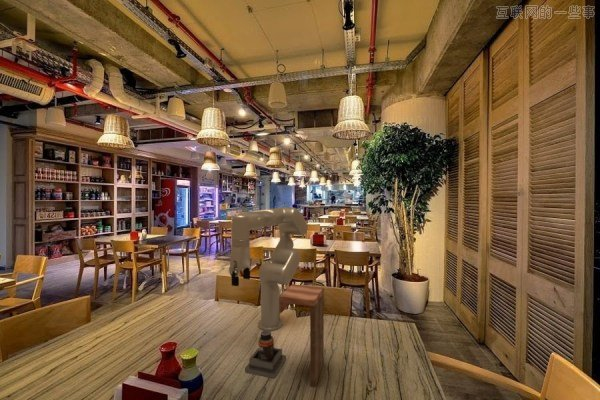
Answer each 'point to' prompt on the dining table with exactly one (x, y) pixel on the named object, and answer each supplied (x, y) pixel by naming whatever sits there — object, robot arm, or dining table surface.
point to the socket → (266, 364)
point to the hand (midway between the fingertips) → (241, 282)
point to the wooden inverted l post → (316, 302)
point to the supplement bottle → (266, 346)
